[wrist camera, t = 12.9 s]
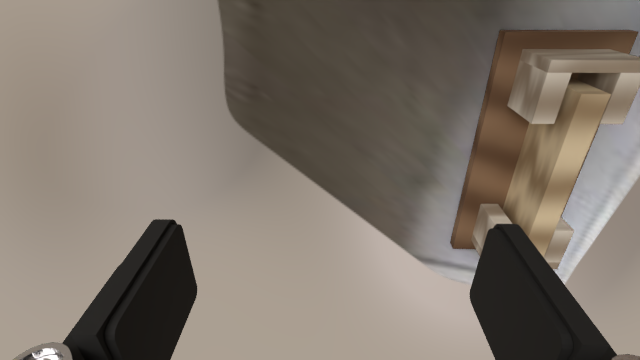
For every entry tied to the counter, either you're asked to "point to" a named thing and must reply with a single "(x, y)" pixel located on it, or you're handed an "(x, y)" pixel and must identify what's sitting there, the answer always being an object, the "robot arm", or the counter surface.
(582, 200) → the counter surface
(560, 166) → the slat
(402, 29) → the counter surface
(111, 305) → the robot arm
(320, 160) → the counter surface
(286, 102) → the counter surface
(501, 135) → the board
